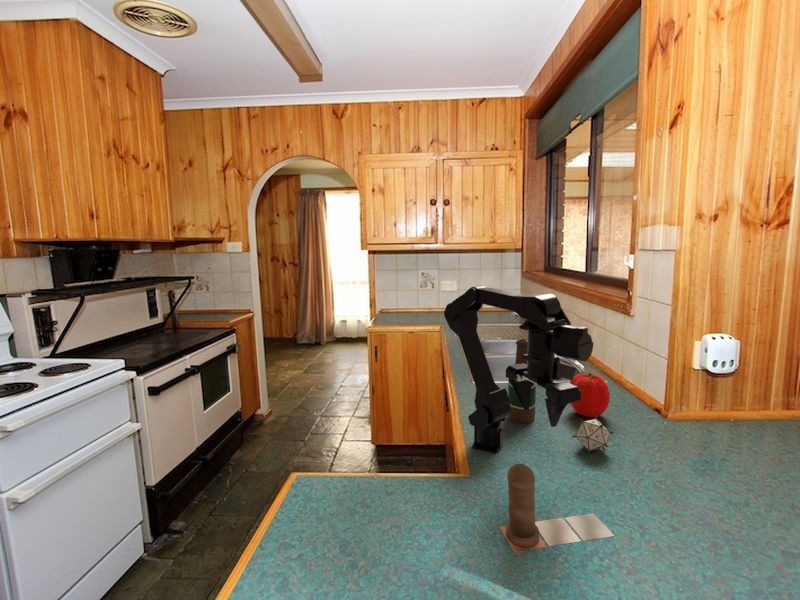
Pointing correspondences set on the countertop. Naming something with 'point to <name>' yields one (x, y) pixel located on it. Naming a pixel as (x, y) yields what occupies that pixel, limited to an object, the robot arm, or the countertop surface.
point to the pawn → (521, 507)
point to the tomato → (591, 395)
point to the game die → (592, 434)
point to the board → (566, 531)
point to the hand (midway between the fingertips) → (539, 417)
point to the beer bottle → (516, 407)
